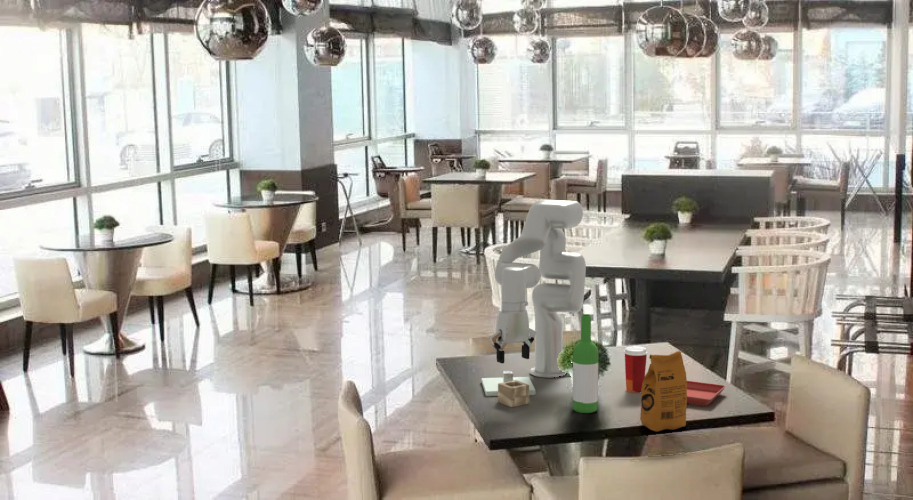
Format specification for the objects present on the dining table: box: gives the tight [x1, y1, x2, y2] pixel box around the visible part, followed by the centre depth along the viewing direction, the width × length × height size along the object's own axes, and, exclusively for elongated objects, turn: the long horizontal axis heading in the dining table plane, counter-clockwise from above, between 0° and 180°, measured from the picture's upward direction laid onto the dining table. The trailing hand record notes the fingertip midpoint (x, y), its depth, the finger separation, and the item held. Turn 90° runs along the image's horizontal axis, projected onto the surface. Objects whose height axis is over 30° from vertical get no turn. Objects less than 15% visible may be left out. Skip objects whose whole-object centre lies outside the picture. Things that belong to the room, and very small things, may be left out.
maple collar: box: [497, 380, 530, 408], centre depth 353 cm, size 7×7×6 cm
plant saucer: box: [687, 380, 726, 407], centre depth 358 cm, size 18×18×3 cm
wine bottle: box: [572, 313, 599, 414], centre depth 343 cm, size 8×8×30 cm
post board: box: [481, 370, 536, 397], centre depth 369 cm, size 16×16×6 cm
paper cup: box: [623, 345, 648, 394], centre depth 365 cm, size 8×8×14 cm
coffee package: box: [639, 350, 688, 432], centre depth 328 cm, size 10×12×22 cm
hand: (513, 360), depth 351 cm, fingers open, 9 cm apart
